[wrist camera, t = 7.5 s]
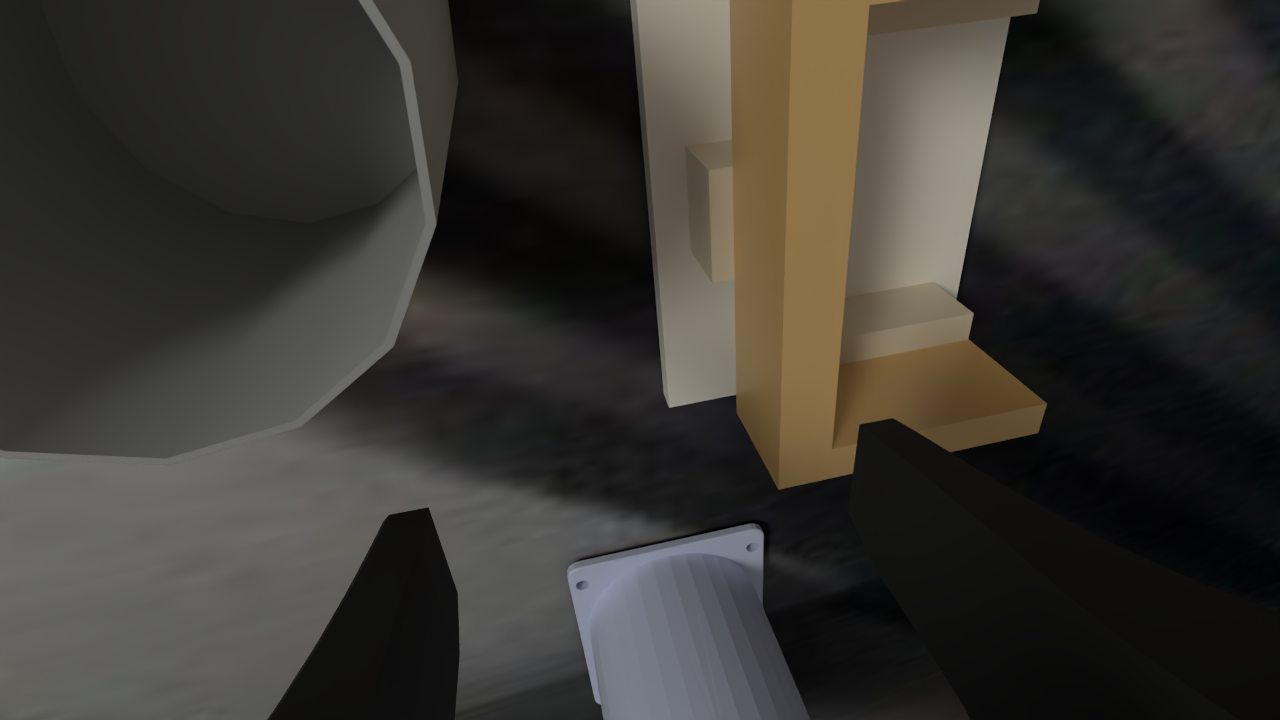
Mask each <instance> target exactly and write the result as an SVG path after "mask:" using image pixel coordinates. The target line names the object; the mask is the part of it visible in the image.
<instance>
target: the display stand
mask: <svg viewBox="0 0 1280 720" xmlns="http://www.w3.org/2000/svg"><path fill="white" fill-rule="evenodd" d="M1039 1H1040V0H905V1H897V2H890V3H882V4H874V5H870V6H869V18H868V29H867V41H866V53H865V65H864V77H863V89H862V100H861V112H860V124H859V136H858V148H857V160H856V171H855V183H854V195H853V207H852V219H851V231H850V243H849V254H848V266H847V278H846V290H845V302H844V314H843V325H842V337H841V349H840V361H839V365H841V364H847V363H852V362H857V361H862V360H867V359H872V358H877V357H882V356H887V355H892V354H897V353H902V352H907V351H912V350H917V349H923V348H928V347H933V346H938V345H943V344H948V343H953V342H958V341H963V340H968V338H969V333H970V329H971V324H972V319H973V314H974V313H973V312H971V311H970V310H969V309H968V308H966V307H965V306H964V305H962V304H961V303H960V302H958V301H957V300H956V298H957V293H958V288H959V283H960V277H961V272H962V267H963V262H964V257H965V251H966V246H967V241H968V236H969V231H970V225H971V220H972V215H973V210H974V205H975V199H976V194H977V189H978V184H979V178H980V173H981V168H982V163H983V158H984V152H985V147H986V142H987V137H988V132H989V126H990V121H991V116H992V111H993V106H994V100H995V95H996V90H997V85H998V80H999V74H1000V69H1001V64H1002V59H1003V54H1004V48H1005V43H1006V38H1007V33H1008V27H1009V22H1010V17H1013V16H1020V15H1028V14H1035V13H1037V11H1038V6H1039ZM630 4H631V16H632V27H633V39H634V51H635V62H636V74H637V86H638V98H639V109H640V121H641V133H642V145H643V156H644V168H645V180H646V191H647V203H648V215H649V227H650V238H651V250H652V262H653V273H654V285H655V297H656V309H657V320H658V332H659V344H660V356H661V367H662V379H663V391H664V396H665V398H666V401H667V403H668V406H669V408H670V407H675V406H680V405H686V404H691V403H696V402H701V401H706V400H711V399H716V398H721V397H727V396H732V395H736V345H735V287H734V229H733V171H732V113H731V55H730V0H630Z"/></svg>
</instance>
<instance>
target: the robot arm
mask: <svg viewBox="0 0 1280 720" xmlns="http://www.w3.org/2000/svg"><path fill="white" fill-rule="evenodd" d="M848 512H849V514H850V517H851V519H852V521H853V523H854V525H855V527H856V530H857V532H858V534H859V536H860V538H861V540H862V542H863V544H864V546H865V548H866V551H867V553H868V555H869V557H870V559H871V561H872V563H873V564H874V566H875V568H876V569H877V571H878V572H879V574H880V576H881V577H882V579H883V580H884V582H885V584H886V585H887V587H888V588H889V590H890V591H891V593H892V595H893V596H894V598H895V599H896V601H897V602H898V604H899V605H900V607H901V609H902V610H903V612H904V613H905V615H906V616H907V618H908V619H909V621H910V622H911V624H912V625H913V627H914V629H915V630H916V632H917V633H918V635H919V636H920V638H921V639H922V641H923V642H924V644H925V646H926V647H927V649H928V650H929V652H930V653H931V655H932V656H933V658H934V659H935V661H936V662H937V664H938V666H939V667H940V669H941V670H942V672H943V673H944V675H945V676H946V678H947V679H948V681H949V683H950V684H951V686H952V688H953V689H954V691H955V693H956V694H957V696H958V698H959V699H960V701H961V703H962V704H963V706H964V708H965V710H966V712H967V713H968V715H969V717H970V719H971V720H1280V613H1278V612H1276V611H1273V610H1270V609H1267V608H1265V607H1262V606H1259V605H1257V604H1254V603H1251V602H1249V601H1246V600H1244V599H1241V598H1239V597H1236V596H1234V595H1231V594H1229V593H1226V592H1224V591H1221V590H1219V589H1216V588H1214V587H1211V586H1208V585H1206V584H1203V583H1201V582H1198V581H1196V580H1194V579H1191V578H1189V577H1187V576H1184V575H1182V574H1179V573H1177V572H1175V571H1172V570H1170V569H1168V568H1166V567H1163V566H1161V565H1159V564H1157V563H1155V562H1152V561H1150V560H1148V559H1146V558H1144V557H1142V556H1139V555H1137V554H1135V553H1133V552H1131V551H1129V550H1126V549H1124V548H1122V547H1120V546H1118V545H1115V544H1113V543H1111V542H1109V541H1107V540H1105V539H1103V538H1101V537H1099V536H1097V535H1095V534H1093V533H1091V532H1089V531H1087V530H1085V529H1083V528H1081V527H1080V526H1078V525H1076V524H1074V523H1072V522H1070V521H1068V520H1066V519H1065V518H1063V517H1061V516H1059V515H1057V514H1055V513H1053V512H1051V511H1049V510H1048V509H1046V508H1044V507H1042V506H1040V505H1039V504H1037V503H1035V502H1033V501H1031V500H1030V499H1028V498H1026V497H1024V496H1022V495H1021V494H1019V493H1017V492H1016V491H1014V490H1012V489H1010V488H1009V487H1007V486H1005V485H1003V484H1002V483H1000V482H998V481H997V480H995V479H993V478H992V477H990V476H988V475H987V474H985V473H983V472H982V471H980V470H978V469H977V468H975V467H973V466H972V465H970V464H968V463H967V462H965V461H963V460H962V459H960V458H959V457H957V456H955V455H954V454H952V453H950V452H949V451H947V450H946V449H944V448H942V447H941V446H939V445H937V444H936V443H934V442H933V441H931V440H929V439H928V438H926V437H924V436H923V435H921V434H919V433H918V432H916V431H914V430H913V429H911V428H909V427H908V426H906V425H904V424H903V423H901V422H899V421H897V420H895V419H894V418H890V419H885V420H880V421H875V422H870V423H864V424H859V431H858V439H857V446H856V454H855V462H854V469H853V477H852V484H851V492H850V499H849V507H848ZM763 558H764V534H763V531H762V529H761V527H760V526H759V525H758V524H754V523H753V524H746V525H741V526H737V527H732V528H728V529H723V530H719V531H714V532H710V533H705V534H700V535H696V536H691V537H687V538H682V539H678V540H673V541H669V542H664V543H659V544H655V545H650V546H646V547H641V548H637V549H632V550H628V551H623V552H618V553H614V554H609V555H605V556H600V557H596V558H591V559H587V560H582V561H578V562H575V563H573V564H572V565H570V566H569V568H568V569H567V576H568V581H569V586H570V590H571V595H572V599H573V604H574V608H575V613H576V617H577V622H578V626H579V630H580V635H581V639H582V644H583V648H584V653H585V657H586V662H587V666H588V671H589V675H590V680H591V684H592V689H593V693H594V697H595V701H596V702H597V703H599V704H601V707H602V713H603V719H604V720H810V717H809V715H808V713H807V710H806V708H805V706H804V703H803V701H802V698H801V696H800V694H799V691H798V689H797V687H796V684H795V682H794V680H793V677H792V675H791V672H790V670H789V668H788V665H787V663H786V661H785V658H784V656H783V654H782V651H781V649H780V646H779V644H778V642H777V639H776V637H775V635H774V632H773V630H772V628H771V625H770V623H769V620H768V618H767V616H766V613H765V611H764V609H763ZM580 581H583V582H580ZM458 669H459V618H458V593H457V590H456V587H455V584H454V581H453V578H452V575H451V572H450V569H449V566H448V563H447V560H446V558H445V555H444V552H443V549H442V546H441V543H440V540H439V537H438V534H437V531H436V528H435V525H434V522H433V519H432V516H431V513H430V510H429V508H423V509H418V510H413V511H407V512H402V513H397V514H392V515H388V517H387V518H386V519H385V520H384V522H383V523H382V525H381V527H380V529H379V531H378V533H377V535H376V537H375V539H374V541H373V543H372V545H371V547H370V549H369V551H368V553H367V555H366V557H365V559H364V561H363V563H362V564H361V566H360V568H359V570H358V572H357V574H356V576H355V578H354V579H353V581H352V583H351V585H350V587H349V589H348V590H347V592H346V594H345V596H344V598H343V599H342V601H341V603H340V605H339V606H338V608H337V610H336V611H335V613H334V615H333V617H332V618H331V620H330V622H329V624H328V625H327V627H326V629H325V630H324V632H323V634H322V636H321V637H320V639H319V641H318V642H317V644H316V646H315V647H314V649H313V651H312V652H311V654H310V655H309V657H308V658H307V660H306V662H305V663H304V665H303V666H302V668H301V669H300V671H299V672H298V674H297V676H296V677H295V679H294V680H293V682H292V683H291V685H290V686H289V688H288V690H287V691H286V693H285V694H284V696H283V697H282V699H281V700H280V702H279V703H278V705H277V706H276V708H275V709H274V711H273V712H272V714H271V715H270V717H269V718H268V720H454V718H455V706H456V694H457V682H458Z"/></svg>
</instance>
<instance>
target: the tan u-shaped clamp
mask: <svg viewBox="0 0 1280 720" xmlns="http://www.w3.org/2000/svg"><path fill="white" fill-rule="evenodd" d="M897 1H905V0H730V55H731V113H732V171H733V229H734V287H735V345H736V403H737V414H738V416H739V418H740V419H741V421H742V423H743V425H744V427H745V429H746V430H747V432H748V434H749V436H750V438H751V440H752V442H753V443H754V445H755V447H756V449H757V451H758V453H759V454H760V456H761V458H762V460H763V462H764V464H765V466H766V467H767V469H768V471H769V473H770V475H771V477H772V479H773V480H774V482H775V484H776V486H777V488H778V490H779V489H783V488H788V487H792V486H797V485H802V484H806V483H811V482H815V481H820V480H825V479H829V478H834V477H838V476H843V475H848V474H852V473H853V469H854V462H855V454H856V446H857V439H858V431H859V424H864V423H870V422H875V421H880V420H885V419H890V418H894V419H895V420H897V421H899V422H901V423H903V424H904V425H906V426H908V427H909V428H911V429H913V430H914V431H916V432H918V433H919V434H921V435H923V436H924V437H926V438H928V439H929V440H931V441H933V442H934V443H936V444H937V445H939V446H941V447H942V448H944V449H946V450H947V451H949V452H953V451H958V450H962V449H967V448H971V447H976V446H981V445H985V444H990V443H994V442H999V441H1004V440H1008V439H1013V438H1017V437H1022V436H1027V435H1031V434H1036V433H1038V432H1039V429H1040V425H1041V422H1042V419H1043V415H1044V412H1045V409H1046V405H1047V403H1046V402H1044V401H1043V400H1042V399H1041V398H1040V397H1038V396H1037V395H1036V394H1035V393H1034V392H1032V391H1031V390H1030V389H1029V388H1027V387H1026V386H1025V385H1024V384H1023V383H1021V382H1020V381H1019V380H1018V379H1016V378H1015V377H1014V376H1013V375H1012V374H1010V373H1009V372H1008V371H1007V370H1005V369H1004V368H1003V367H1002V366H1001V365H999V364H998V363H997V362H996V361H995V360H993V359H992V358H991V357H990V356H988V355H987V354H986V353H985V352H984V351H982V350H981V349H980V348H979V347H977V346H976V345H975V344H974V343H973V342H971V341H970V340H969V339H968V340H963V341H958V342H953V343H948V344H943V345H938V346H933V347H928V348H923V349H917V350H912V351H907V352H902V353H897V354H892V355H887V356H882V357H877V358H872V359H867V360H862V361H857V362H852V363H847V364H841V365H839V361H840V349H841V337H842V325H843V314H844V302H845V290H846V278H847V266H848V254H849V243H850V231H851V219H852V207H853V195H854V183H855V171H856V160H857V148H858V136H859V124H860V112H861V100H862V89H863V77H864V65H865V53H866V41H867V29H868V18H869V6H870V5H874V4H882V3H890V2H897Z"/></svg>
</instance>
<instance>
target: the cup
mask: <svg viewBox="0 0 1280 720" xmlns="http://www.w3.org/2000/svg"><path fill="white" fill-rule="evenodd" d="M457 88H458V75H457V67H456V59H455V51H454V43H453V35H452V27H451V19H450V11H449V3H448V0H0V457H2V458H6V459H29V460H52V461H75V462H99V463H122V464H146V465H173V464H176V463H180V462H183V461H186V460H190V459H193V458H197V457H200V456H204V455H207V454H210V453H214V452H217V451H221V450H224V449H227V448H231V447H234V446H238V445H241V444H245V443H248V442H251V441H255V440H258V439H262V438H265V437H268V436H272V435H275V434H279V433H282V432H286V431H289V430H292V429H296V428H299V427H301V426H303V425H304V424H305V423H306V422H307V421H308V420H309V419H311V418H312V417H313V416H314V415H315V414H316V413H318V412H319V411H320V410H321V409H322V408H323V407H324V406H326V405H327V404H328V403H329V402H330V401H331V400H333V399H334V398H335V397H336V396H337V395H338V394H339V393H341V392H342V391H343V390H344V389H345V388H346V387H348V386H349V385H350V384H351V383H352V382H353V381H354V380H356V379H357V378H358V377H359V376H360V375H361V374H362V373H364V372H365V371H366V370H367V369H368V368H369V367H371V366H372V365H373V364H374V363H375V362H376V361H377V360H379V359H380V358H381V357H382V356H383V355H384V354H386V353H387V352H388V351H389V350H390V349H391V348H392V347H394V344H395V341H396V338H397V335H398V332H399V330H400V327H401V324H402V321H403V318H404V315H405V313H406V310H407V307H408V304H409V301H410V298H411V295H412V293H413V290H414V287H415V284H416V281H417V278H418V276H419V273H420V270H421V267H422V264H423V261H424V258H425V256H426V253H427V250H428V247H429V244H430V241H431V239H432V236H433V233H434V230H435V227H436V224H437V218H438V211H439V205H440V198H441V192H442V185H443V179H444V172H445V166H446V159H447V153H448V146H449V140H450V133H451V127H452V121H453V114H454V108H455V101H456V95H457Z"/></svg>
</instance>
